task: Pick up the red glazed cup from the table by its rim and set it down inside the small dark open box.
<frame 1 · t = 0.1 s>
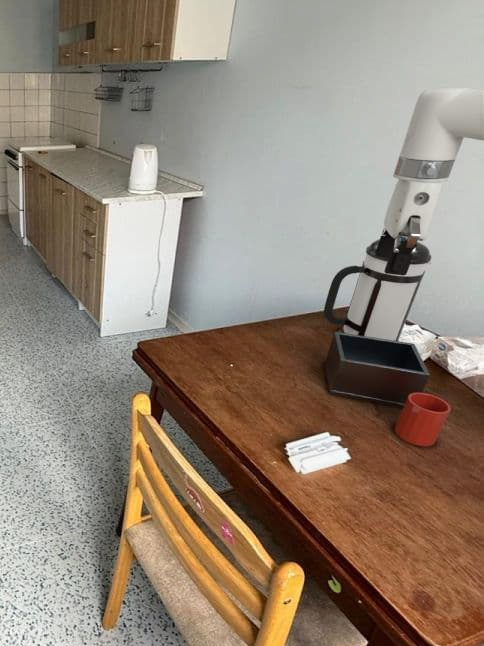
hand: (389, 264, 87), 32 cm above the table, tool pointing down, fingers open, 9 cm apart
dark open box: (366, 385, 108), on the table
cup: (414, 435, 93), on the table
coffee press: (362, 342, 125), on the table
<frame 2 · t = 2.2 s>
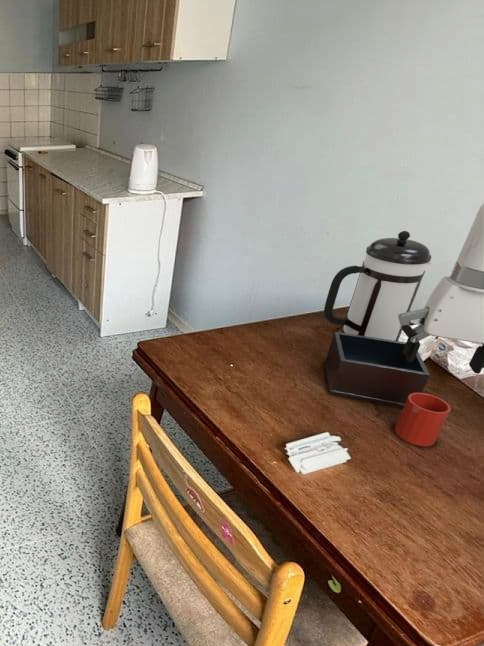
hand: (440, 363, 86), 16 cm above the table, tool pointing down, fingers open, 9 cm apart
nothing on the table moved.
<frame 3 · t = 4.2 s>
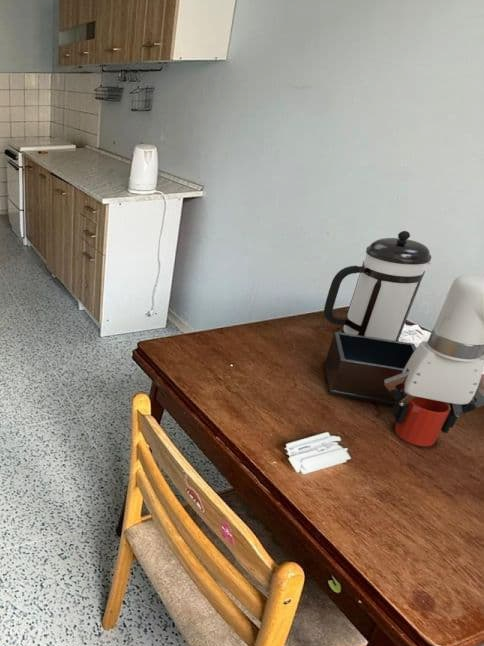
hand: (419, 423, 91), 3 cm above the table, tool pointing down, fingers closed on cup, 6 cm apart
cup: (414, 435, 93), on the table, touching gripper
everything else where it was.
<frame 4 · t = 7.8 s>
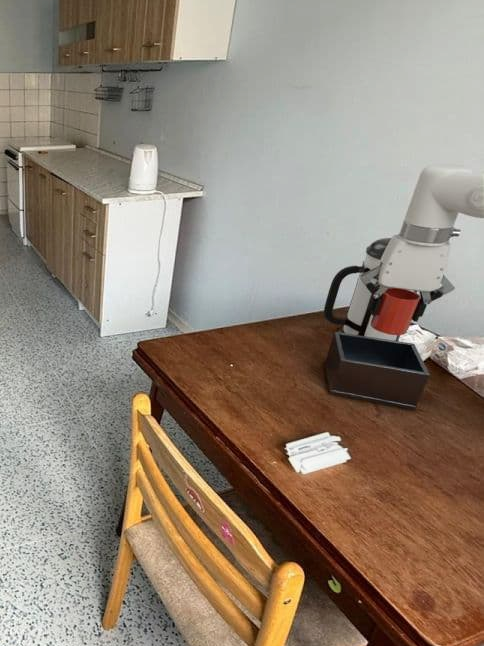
hand: (393, 315, 99), 18 cm above the table, tool pointing down, fingers closed on cup, 6 cm apart
cup: (388, 328, 100), point 15 cm above the table, touching gripper
everything else where it was.
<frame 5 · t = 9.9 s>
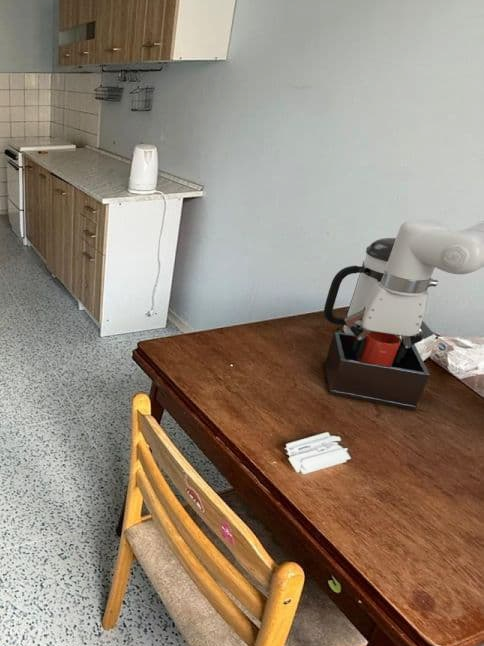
hand: (376, 356, 104), 8 cm above the table, tool pointing down, fingers closed on cup, 6 cm apart
cup: (371, 367, 106), point 5 cm above the table, touching gripper
everything else where it was.
when the fingers open (4 cm above the table, at t = 11.4 s): cup stays where it is, resting on dark open box.
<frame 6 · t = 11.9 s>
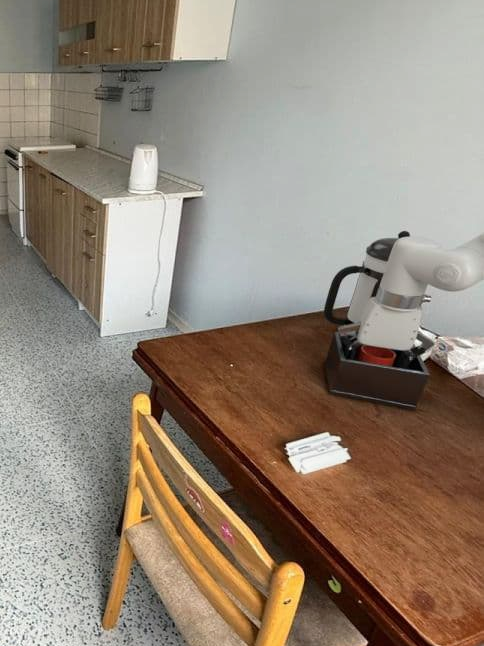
hand: (373, 367, 105), 5 cm above the table, tool pointing down, fingers open, 9 cm apart
cup: (367, 381, 107), point 1 cm above the table, touching dark open box
everything else where it was.
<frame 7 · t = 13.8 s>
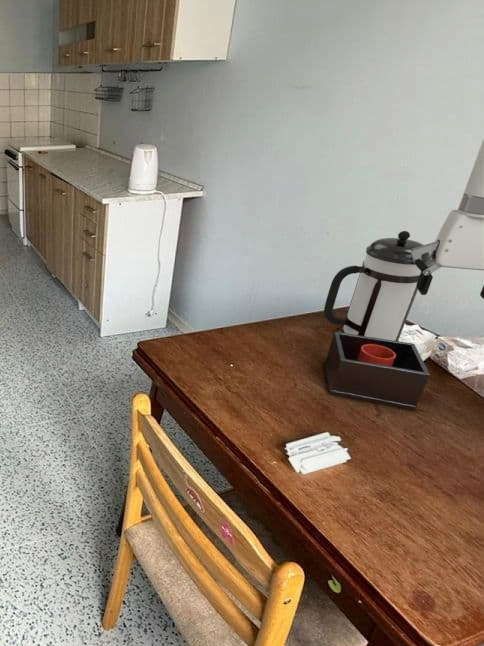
hand: (452, 295, 90), 25 cm above the table, tool pointing down, fingers open, 9 cm apart
nothing on the table moved.
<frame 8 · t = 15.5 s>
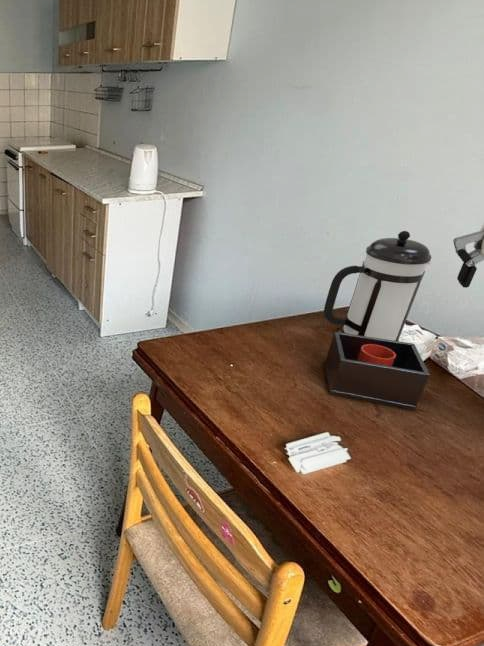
nothing on the table moved.
at the end: cup inside the target area in the dark open box (0.0 cm from its centre), point 1.0 cm above the dark open box's base; the gripper is holding nothing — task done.
